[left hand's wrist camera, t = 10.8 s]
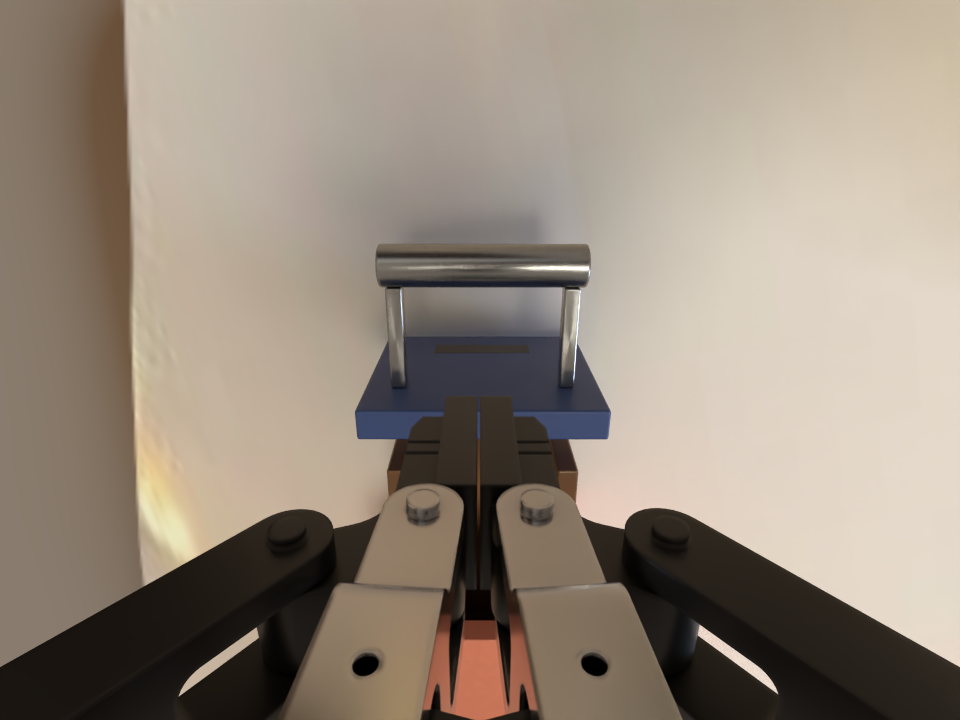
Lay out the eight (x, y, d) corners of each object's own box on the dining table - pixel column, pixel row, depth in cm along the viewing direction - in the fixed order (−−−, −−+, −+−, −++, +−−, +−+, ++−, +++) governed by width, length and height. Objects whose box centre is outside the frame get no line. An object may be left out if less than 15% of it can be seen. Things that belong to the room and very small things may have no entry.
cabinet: (392, 492, 32) (355, 640, 22) (570, 492, 32) (609, 640, 22) (408, 714, 39) (385, 898, 29) (553, 714, 39) (577, 898, 29)
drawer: (382, 222, 25) (339, 256, 17) (582, 222, 25) (627, 256, 17) (407, 606, 34) (386, 740, 26) (555, 605, 34) (577, 739, 26)
